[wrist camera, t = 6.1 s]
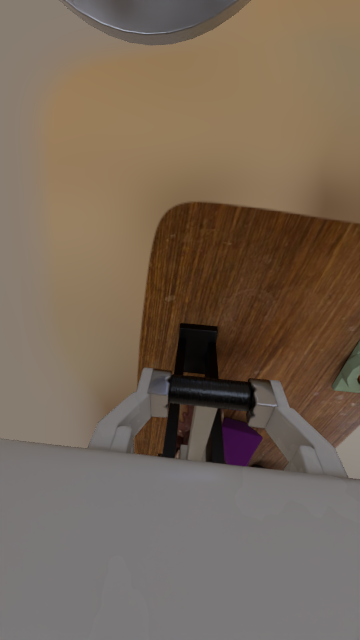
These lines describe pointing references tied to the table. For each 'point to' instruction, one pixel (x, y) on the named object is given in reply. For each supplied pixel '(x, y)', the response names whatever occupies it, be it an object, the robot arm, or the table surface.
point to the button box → (349, 373)
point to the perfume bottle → (239, 442)
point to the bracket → (202, 358)
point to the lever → (206, 406)
